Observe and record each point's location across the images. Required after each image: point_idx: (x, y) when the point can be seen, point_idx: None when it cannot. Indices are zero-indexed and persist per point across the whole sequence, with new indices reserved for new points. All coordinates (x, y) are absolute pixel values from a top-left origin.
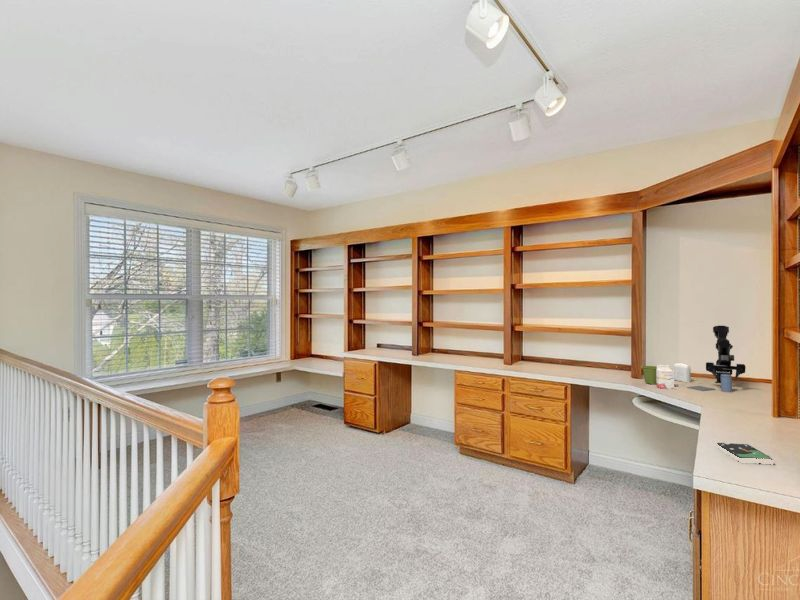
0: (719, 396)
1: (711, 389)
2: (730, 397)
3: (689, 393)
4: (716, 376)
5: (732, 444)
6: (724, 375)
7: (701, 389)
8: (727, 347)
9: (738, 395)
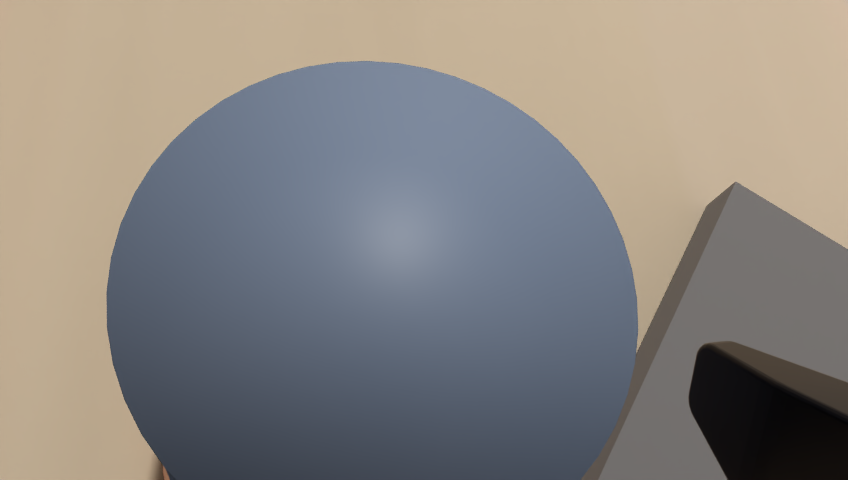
0: (420, 26)
1: (635, 397)
2: (254, 25)
3: (828, 47)
4: (739, 362)
5: None
6: (434, 83)
7: (776, 254)
8: None
9: (95, 298)
